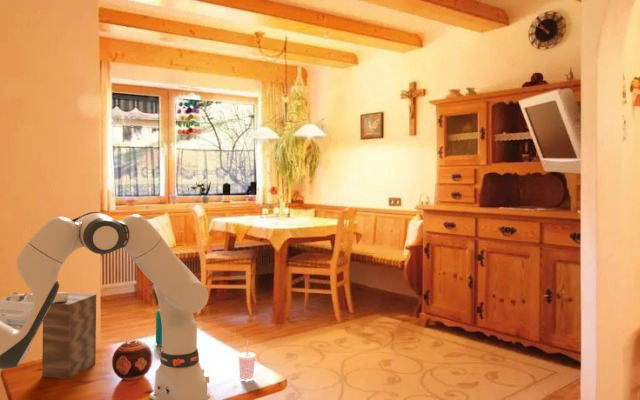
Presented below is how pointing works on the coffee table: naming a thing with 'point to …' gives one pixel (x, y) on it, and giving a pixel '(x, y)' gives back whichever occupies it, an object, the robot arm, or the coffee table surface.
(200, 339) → the coffee table surface
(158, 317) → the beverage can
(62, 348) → the wavy grain block
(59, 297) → the wooden bar
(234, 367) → the coffee table surface
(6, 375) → the coffee table surface
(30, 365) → the coffee table surface
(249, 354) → the beverage cup
